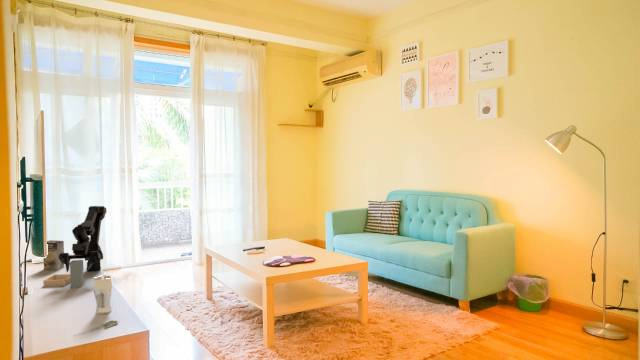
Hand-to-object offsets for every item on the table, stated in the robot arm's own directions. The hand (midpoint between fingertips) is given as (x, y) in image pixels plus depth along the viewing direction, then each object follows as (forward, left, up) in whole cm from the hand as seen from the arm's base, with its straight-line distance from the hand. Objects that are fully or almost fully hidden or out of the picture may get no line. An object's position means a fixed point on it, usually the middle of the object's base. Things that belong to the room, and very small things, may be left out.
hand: (77, 271), depth 222 cm
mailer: (+8, -13, -8) cm, 17 cm away
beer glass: (-14, +45, -8) cm, 48 cm away
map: (-11, +66, -8) cm, 68 cm away
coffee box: (+16, -44, -8) cm, 47 cm away
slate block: (0, 0, -8) cm, 8 cm away
